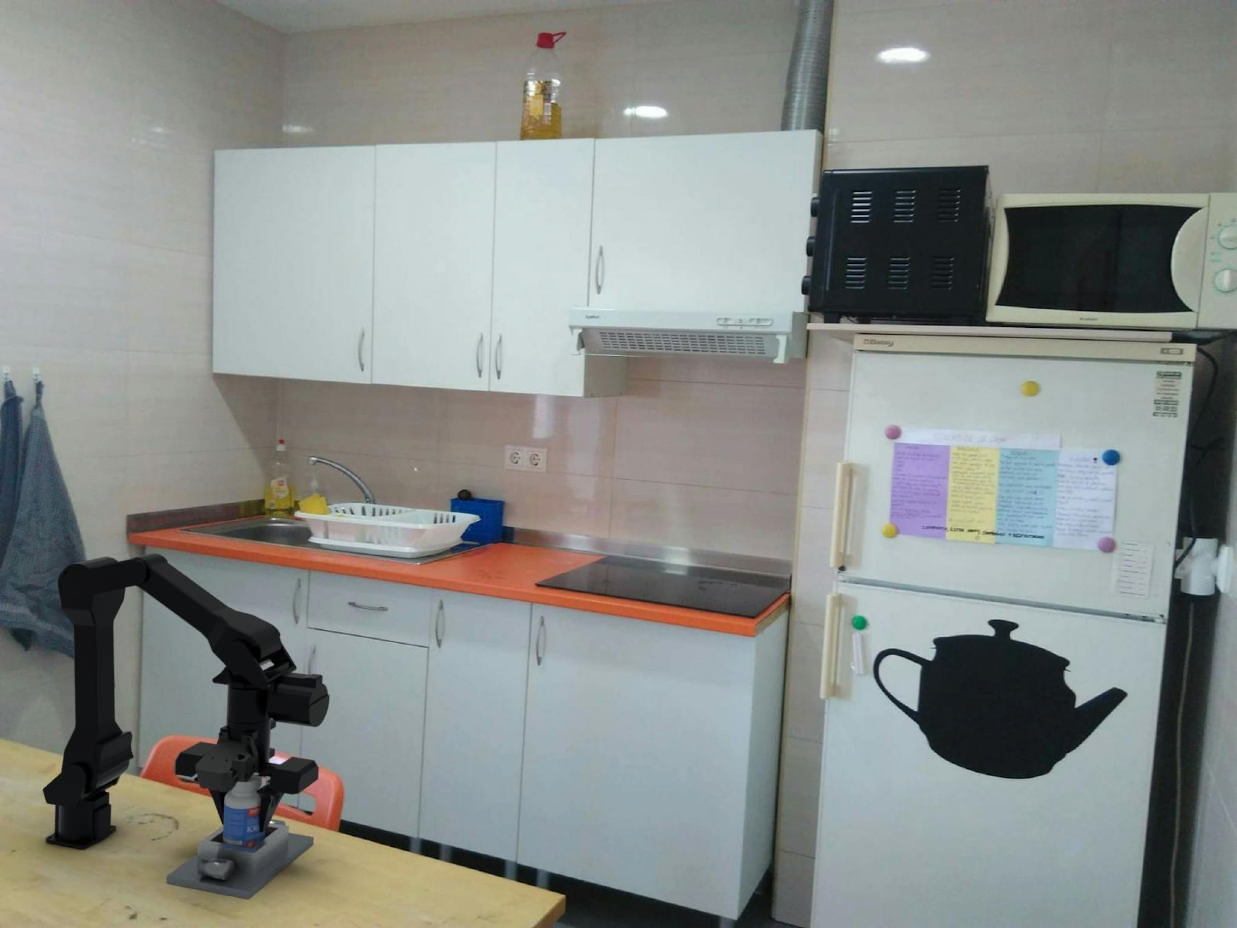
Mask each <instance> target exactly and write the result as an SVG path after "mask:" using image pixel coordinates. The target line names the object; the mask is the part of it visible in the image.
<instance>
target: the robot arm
mask: <svg viewBox="0 0 1237 928" xmlns="http://www.w3.org/2000/svg"><path fill="white" fill-rule="evenodd" d="M56 584H57V590H58V596H59V601H60V606H61V610H62V611H63V612H64V614H65V615H66V617H67V618H68V620H69V621H70V623H71V624H72V629H73V668H74V669H73V672H74V673H73V674H74V718H75V719H74V723H75V724H74V729H73V730H72V732H71V735H70V737H69V739H68V741H67V743H66V745H65V747H64V750H63V755H62V761H61V762H62V764H61V770H60V773H58V774H57V776H56V777H55V778H53V779H52V780H51V781H50V782H49V783H47V785H46V786H44V787H43V789H42V792H43V797H44V800H45V804H47V805H51V806H52V805H53V806H54V833H51V834H50V835H48V836H46V838H45V842H46V843H49V844H55V845H59V846H61V845H62V846H66V847H71V848H77V849H86V848H89V847H90V846H92V845H93V844H95V843H97V842H99V841H100V840H102V839H103V838H105V837H107V836H108V835H111V834H112V833H113V832H114V833H115V831H116V830H117V825H112V804H111V803H110V791H106V790H108V789H110V788H112V787H115V786H116V785H118V784H119V781H120V778H121V776H122V775H123V774H124V773H125V772H126V771H127V770H128V768H129V766H130V762H131V760H132V759H134V757H135V756H134V754H133V751H132V742H133V733H132V731H131V730H127V731H123V730H122V729H121V727H120V725H119V724H118V723H117V722H116V707H115V705H116V704H115V703H116V700H115V695H116V694H115V693H116V692H115V689H116V688H115V643H114V641H115V638H114V636H115V634H114V633H115V631H114V622H115V619H116V617H117V615H118V613H119V611H120V609H121V606H122V605H123V603H124V601H125V595H126V588H131V587H137V588H139V589H140V590H142V591H144V592H145V594H148V595H149V596H150V597H152V598H153V599H154V600H155V601H157V602H158V603H159V604H161V605H162V606H164V607H165V608H166V609H168V611H171V612H172V613H173V614H175V615H176V616H177V617H178V618H180V619H181V620H183V621H184V622H185V623H187V624H188V625H189V626H190V627H192V628H193V629H195V630H196V631H198V632H199V633H200V634H201V635H202V636H203V637H204V638H205V639H206V640H207V643H208V644H209V648H210V649H211V652H212V653H213V655H214V656H216V657H217V659H219V661H220V662H221V663H222V664H223V665H224V668H223V670H221V671H220V672H219V673H218V674H217V675H216V676H214V677H213V678H212V680H211V681H212V683H213V684H219V685H224V686H227V694H226V696H227V697H226V699H227V700H226V721H225V722H226V723H225V725H223V726H222V727H220V728H219V732H218V738H217V742H216V743H212V742H211V743H210V742H205V741H199V742H197V743H195V744H194V745H191V746H190V747H188V748H186V749H184V750H182V751H181V752H179V753H178V754H177V755H176V757H175V760H174V766H173V767H174V770H173V772H174V775H177V776H182V777H189V778H192V777H194V778H193V781H194V783H196V784H198V786H199V788H201V789H203V790H208V792H209V794H210V797H211V798H212V800H213V802H214V803H213V804H214V806H215V808H216V811H217V815H218V817H219V820H220V823H221V825H222V826H223V825H224V800H225V796H226V794H227V793H228V792H229V791H231V790H232V789H233V788H234V787H235V786H236V783H237V782H247V781H248V780H249V779H250V778H251V777H252V775H255V776H261V777H262V778H265V785H263V786H261V787H260V789H258V790H257V791H256V792H257V794H258V795H259V796H260V798H261V801H260V816H259V829H260V832H264V831H265V830H266V829H267V827H268V825H269V823H270V821H271V819H273V817H274V815H275V812H276V811H277V808H278V807H279V804H280V802H281V800H282V798H283V797H284V796H285V794H287V795H292V796H293V795H298V794H300V793H302V792H303V791H304V790H306V789H307V788H308V787H310V786H311V785H312V784H314V783H315V782H317V781H318V780H319V773H320V768H319V765H318V763H317V762H316V761H315V759H310V758H304V757H303V758H302V757H297V756H291V757H290V758H288V759H286V760H285V761H283V762H281V763H275V762H270V760H271V759H272V758H273V757H275V756H276V748H273V747H271V734H272V733H271V730H273V729H275V728H277V723H281V724H282V723H283V724H287V725H288V724H289V725H295V726H296V725H297V726H302V727H303V726H304V727H310V728H317V727H319V726H321V724H322V723H323V722H324V720H325V718H326V716H327V714H328V710H329V706H330V705H329V704H330V694H329V691H328V687H327V685H326V684H325V683H323V680H324V679H323V677H324V676H323V675H322V674H318V673H309V674H307V673H300V672H295V671H297V669H298V668H297V665H296V664H295V662H294V660H293V659H292V657H291V655H290V654H289V652H288V651H287V649H286V647H285V645H284V644H283V643H282V639H281V632H280V630H279V629H278V628H277V627H276V626H275V625H273V624H272V623H270V622H268V621H266V620H264V619H262V618H260V617H258V616H256V615H254V614H252V613H246V612H243V611H239V610H236V609H234V608H232V607H230V606H228V605H227V604H225V603H224V602H222V601H221V600H220V599H219V598H217V597H216V596H214V595H213V594H211V593H210V592H209V591H207V590H206V589H205V588H204V587H202V586H201V585H199V584H198V583H197V582H195V581H194V580H193V579H191V578H190V577H188V576H187V575H186V574H184V573H183V572H181V571H180V570H178V569H177V568H176V567H175V566H173V565H172V564H171V563H169V562H168V559H166V557H165V556H164V555H162V554H160V553H155V552H152V553H148V554H143V555H140V556H135V557H132V558H129V559H125V560H117V559H116V558H114V557H111V556H102V557H97V558H92V559H89V560H83V561H80V562H75V563H71V564H69V565H67V566H66V567H65V568H63V570H62V571H61V572H59V574H58V577H57V583H56ZM270 662H271V663H272V665H270V666H269V667H267V668H265V669H263V668H262V666H264V665H266V664H268V663H270ZM195 776H196V777H195Z"/></svg>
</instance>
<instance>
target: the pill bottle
mask: <svg viewBox="0 0 1237 928" xmlns="http://www.w3.org/2000/svg"><path fill="white" fill-rule="evenodd" d="M262 779H263V777H261V776H255V775H252V777H251V778H250V779H249V780H248V781H247V782H237V783H236V786H235V787H234V788H233V789H232V790H231V791H229V792H228V793H227V794H226V796H225V800H224V825H222V826H223V843H224V844H229V845H235V846H240V847H246V848H251V849H252V848H253V847H255V846H256V845H257V844H259V843H260V842H261V841H262V840H264V839H265V831H264V832H260V829H259V816H260V801H261V798H260V796H259V795H258V794H257V792H256V791H257V790H258V789H260V788H261V787H262V785H263V780H262Z"/></svg>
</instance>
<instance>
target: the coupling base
mask: <svg viewBox="0 0 1237 928" xmlns="http://www.w3.org/2000/svg"><path fill="white" fill-rule="evenodd" d="M314 841H315V837H314V836H310V835H304V834H298V833H292V832H290V825H286V822H285V820H280V819H276V818H275V819H274V818H272V819H271V821H270V823H269V825H268V827H267V829H266V830H265V839H264V840H262V841H261V842H260V843H259V844H257V845H256V846H255V847H253V848H252V849H251V848H246V847H240V846H235V845H229V844H224V843H223V825H222V826H220V827H219V828H218V829H216V830H214V831H213V832H212V833H210V834H209V835H207V836H206V837H205V838H203V839H202V840H200V841H199V842H197V854H195V855H193V856H192V857H190V859H188V860H187V861H184V863H182V864H181V865H179V866H178V867H177V868H176V869H174V870H173V871H171V872H170V873H168V874H167V875H166V879H165V880H166V882H165V883H166V884H168V885H174V886H179V887H184V888H188V889H195V890H199V891H205V892H209V893H214V894H215V893H216V894H220V895H221V894H222V895H227V896H231V897H236V898H241V899H247V900H249V899H251V898H252V897H253V896H254V895H256V894H257V893H258V892H259V891H260V890H261V889H263V888H264V887H265V886H266V885H267V884H269V882H270V881H272V879H274V878H275V877H276V876H277V875H279V874H280V873H281V872H282V871H283V870H285V869H286V868H287V867H288V866H289V865H290V864H292V863H293V862H294V861H295V860H296V859H298V857H300V856H301V855H302V854H303V853H304V852H306V851H307V850H308V849H310V847H312V846H313V845H314Z"/></svg>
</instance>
